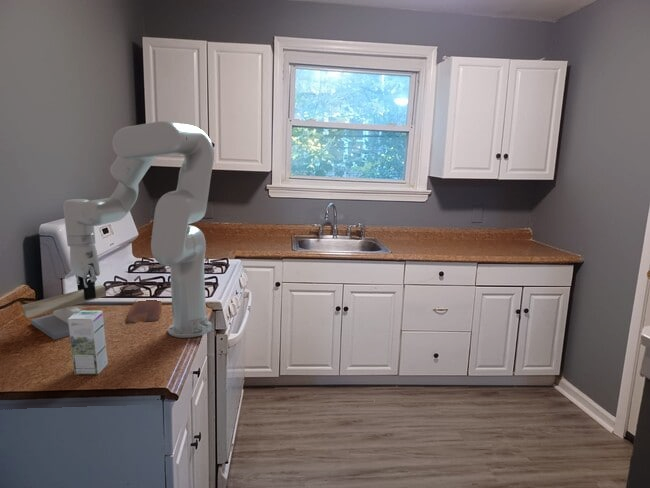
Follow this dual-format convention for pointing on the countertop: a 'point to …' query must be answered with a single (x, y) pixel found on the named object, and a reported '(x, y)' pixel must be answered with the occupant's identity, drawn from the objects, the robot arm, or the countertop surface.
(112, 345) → the countertop surface
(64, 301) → the birch beam
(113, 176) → the robot arm
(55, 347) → the countertop surface
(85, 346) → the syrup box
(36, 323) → the stand
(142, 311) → the wooden tablet
